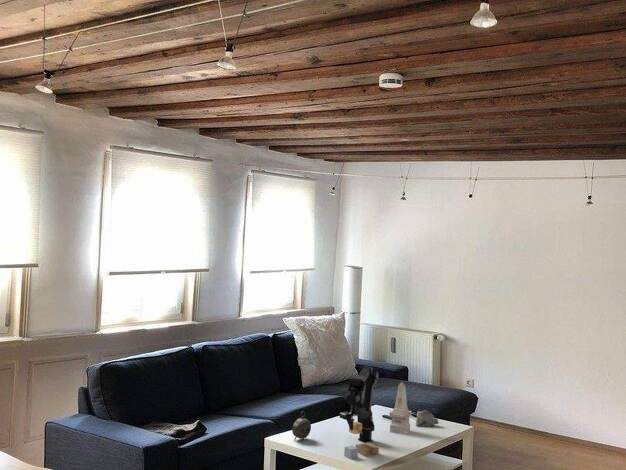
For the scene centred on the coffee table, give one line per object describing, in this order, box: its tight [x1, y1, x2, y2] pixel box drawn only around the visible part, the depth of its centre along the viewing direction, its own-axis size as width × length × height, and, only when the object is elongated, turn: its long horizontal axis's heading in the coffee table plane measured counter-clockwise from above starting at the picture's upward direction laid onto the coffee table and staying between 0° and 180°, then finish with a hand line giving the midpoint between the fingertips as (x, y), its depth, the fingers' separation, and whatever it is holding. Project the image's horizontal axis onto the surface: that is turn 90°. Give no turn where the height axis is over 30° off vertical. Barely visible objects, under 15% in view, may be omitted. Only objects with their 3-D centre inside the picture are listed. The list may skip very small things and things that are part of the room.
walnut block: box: [354, 442, 380, 457], centre depth 362 cm, size 9×9×4 cm
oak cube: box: [348, 421, 362, 435], centre depth 365 cm, size 5×5×5 cm
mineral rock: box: [415, 409, 440, 427], centre depth 421 cm, size 13×11×10 cm
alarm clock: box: [291, 410, 312, 442], centre depth 380 cm, size 11×5×16 cm, turn 131°
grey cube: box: [343, 445, 359, 460], centre depth 354 cm, size 5×5×5 cm
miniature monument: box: [389, 381, 412, 435], centre depth 406 cm, size 10×10×30 cm
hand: (355, 430), depth 365 cm, fingers closed on oak cube, 5 cm apart
